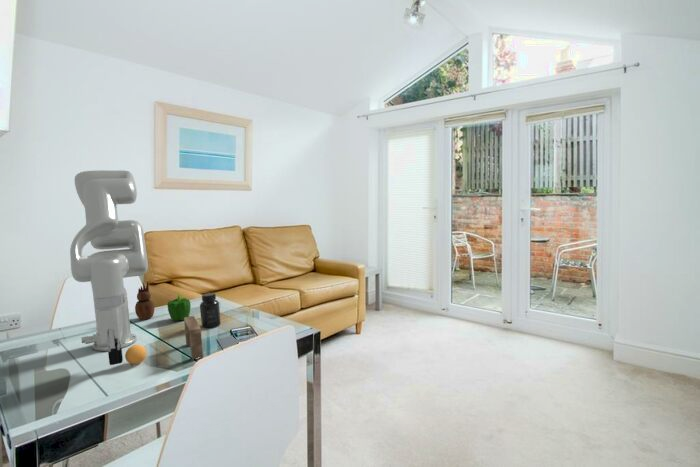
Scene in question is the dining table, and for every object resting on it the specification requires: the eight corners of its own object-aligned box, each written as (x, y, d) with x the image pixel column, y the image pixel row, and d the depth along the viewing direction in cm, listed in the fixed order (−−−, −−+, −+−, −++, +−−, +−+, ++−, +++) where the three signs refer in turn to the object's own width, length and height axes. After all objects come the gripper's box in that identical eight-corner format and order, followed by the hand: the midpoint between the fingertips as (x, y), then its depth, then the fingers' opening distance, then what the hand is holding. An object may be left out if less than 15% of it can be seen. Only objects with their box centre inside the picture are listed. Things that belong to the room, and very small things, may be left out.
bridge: (192, 360, 116) (190, 330, 115) (186, 344, 128) (184, 317, 127) (203, 357, 117) (200, 328, 116) (195, 342, 130) (193, 315, 129)
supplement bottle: (223, 322, 149) (221, 292, 148) (216, 328, 143) (213, 296, 141) (206, 322, 150) (204, 292, 149) (198, 328, 143) (195, 297, 142)
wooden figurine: (157, 315, 161) (154, 280, 159) (151, 320, 155) (147, 283, 153) (141, 316, 161) (137, 280, 159) (133, 321, 155) (130, 284, 153)
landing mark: (224, 351, 122) (224, 350, 122) (216, 339, 132) (216, 338, 132) (261, 343, 127) (261, 342, 127) (251, 332, 138) (251, 331, 138)
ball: (126, 369, 111) (124, 350, 111) (126, 362, 116) (124, 344, 116) (147, 364, 114) (145, 346, 113) (146, 357, 119) (145, 340, 118)
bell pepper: (182, 323, 150) (180, 298, 149) (164, 322, 152) (162, 297, 151) (196, 316, 158) (194, 292, 157) (179, 315, 160) (177, 291, 159)
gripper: (97, 297, 115) (104, 356, 117) (90, 310, 102) (97, 376, 104) (126, 293, 119) (132, 351, 121) (123, 305, 105) (129, 370, 107)
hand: (116, 362), depth 112 cm, fingers closed
